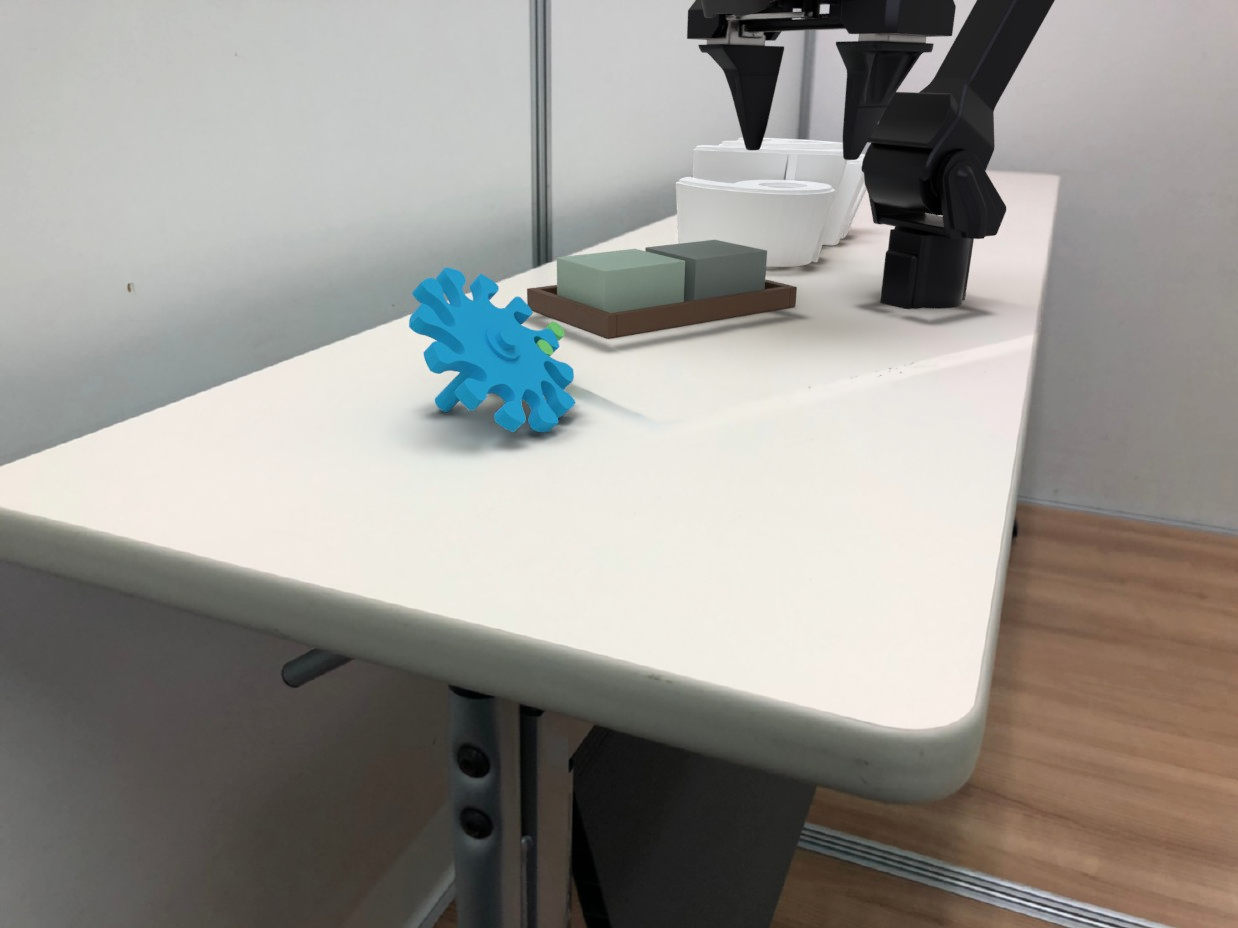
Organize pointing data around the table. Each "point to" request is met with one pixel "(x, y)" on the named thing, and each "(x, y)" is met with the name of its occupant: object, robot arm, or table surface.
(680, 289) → the pale green block
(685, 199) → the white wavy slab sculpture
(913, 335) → the table surface
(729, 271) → the pad
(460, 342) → the gear
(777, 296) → the tray
